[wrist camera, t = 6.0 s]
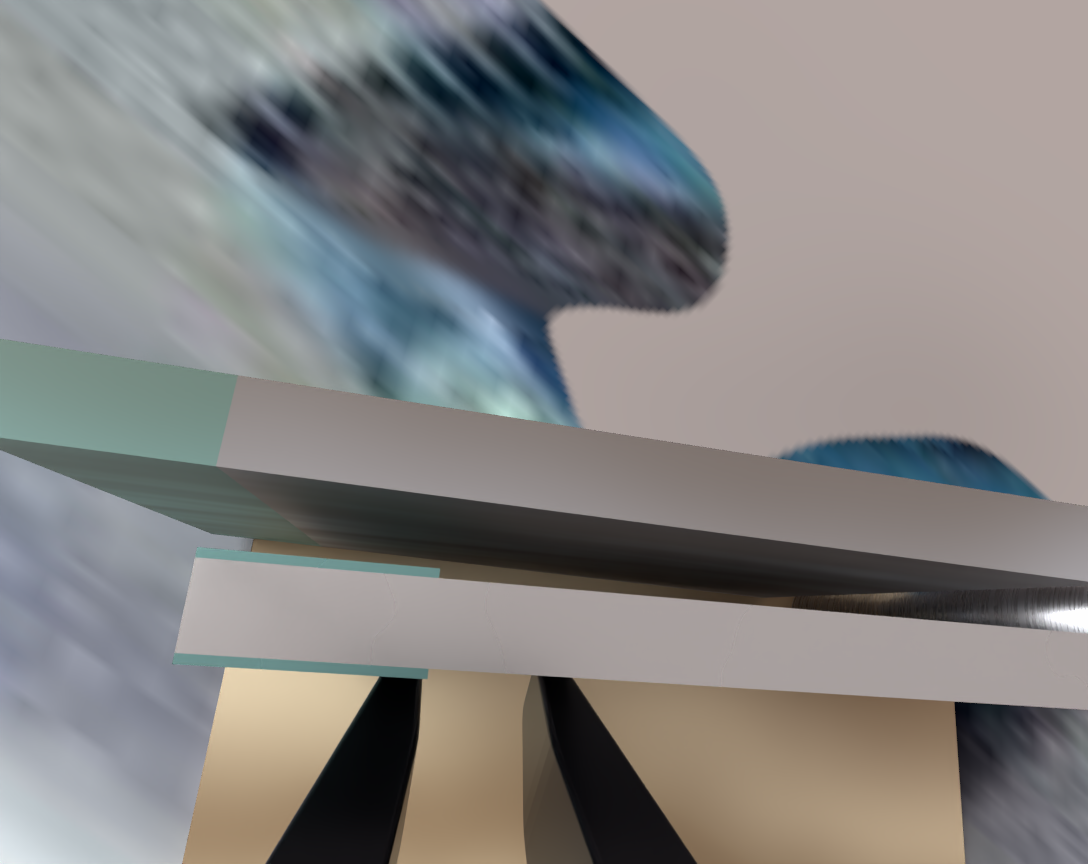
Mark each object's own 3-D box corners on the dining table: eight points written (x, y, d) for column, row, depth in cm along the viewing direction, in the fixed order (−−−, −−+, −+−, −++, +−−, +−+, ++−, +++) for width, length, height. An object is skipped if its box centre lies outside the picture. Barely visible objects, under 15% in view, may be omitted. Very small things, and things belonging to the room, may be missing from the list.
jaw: (858, 671, 17) (1288, 731, 9) (304, 634, 14) (172, 664, 6) (853, 582, 17) (1251, 557, 9) (320, 532, 15) (219, 440, 7)
